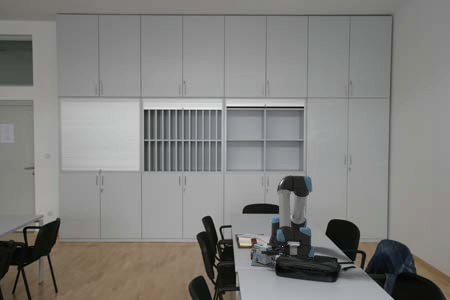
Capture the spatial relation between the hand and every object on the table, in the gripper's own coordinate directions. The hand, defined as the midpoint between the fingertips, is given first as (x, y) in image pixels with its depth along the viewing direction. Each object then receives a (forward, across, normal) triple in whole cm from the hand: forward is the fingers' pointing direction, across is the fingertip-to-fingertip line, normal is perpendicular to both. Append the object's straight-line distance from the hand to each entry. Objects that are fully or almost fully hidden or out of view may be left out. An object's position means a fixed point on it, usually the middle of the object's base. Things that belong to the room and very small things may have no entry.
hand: (256, 248), depth 231 cm
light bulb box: (-4, 0, -8) cm, 9 cm away
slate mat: (-4, 0, -10) cm, 10 cm away
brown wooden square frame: (-3, +14, -10) cm, 18 cm away
